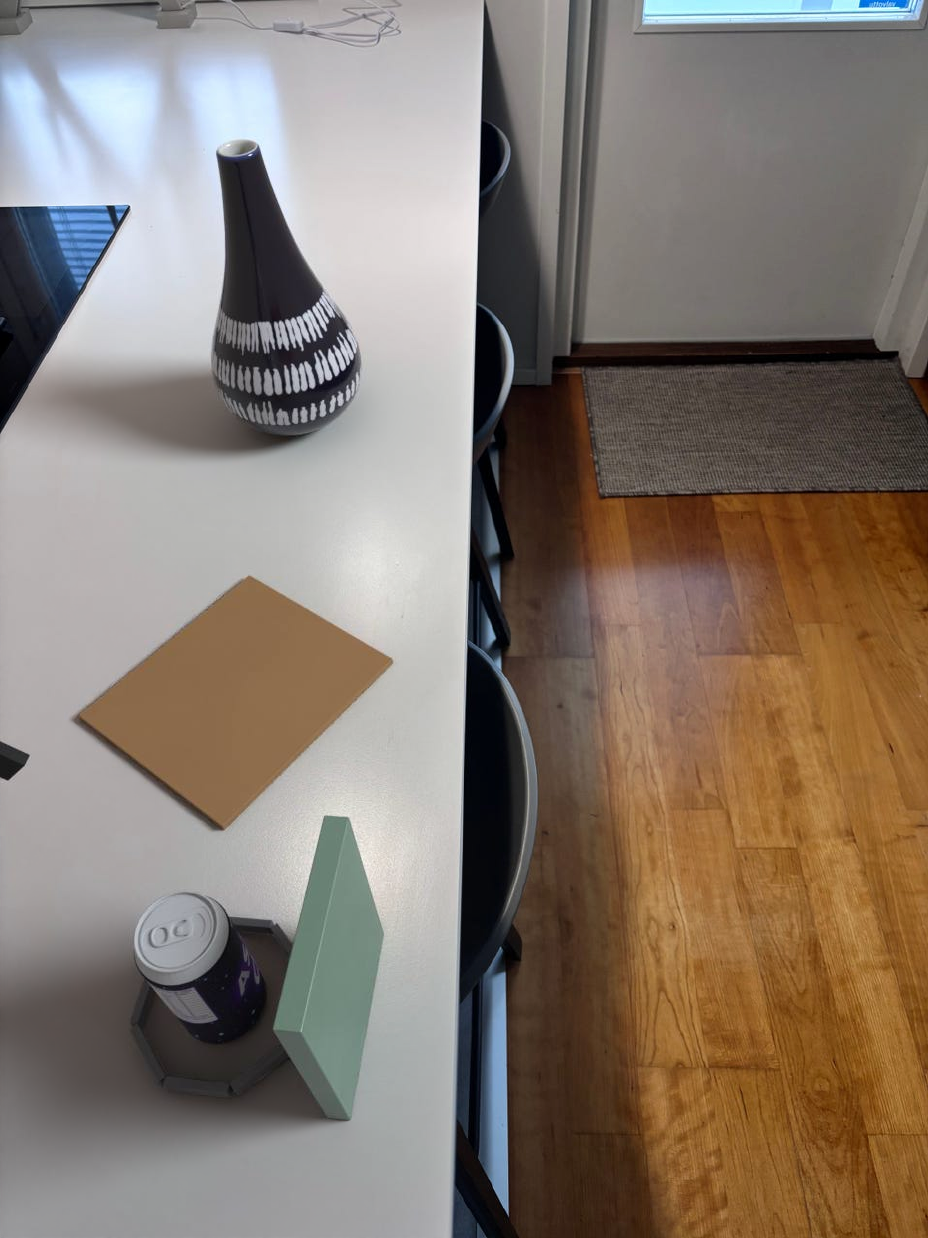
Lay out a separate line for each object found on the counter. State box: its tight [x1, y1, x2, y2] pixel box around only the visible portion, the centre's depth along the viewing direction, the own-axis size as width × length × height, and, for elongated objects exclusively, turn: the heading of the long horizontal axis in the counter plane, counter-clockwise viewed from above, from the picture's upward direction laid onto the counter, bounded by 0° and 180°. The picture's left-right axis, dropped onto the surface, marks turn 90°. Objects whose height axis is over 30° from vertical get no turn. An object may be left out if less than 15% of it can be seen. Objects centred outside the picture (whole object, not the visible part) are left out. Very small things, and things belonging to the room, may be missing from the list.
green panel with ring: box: [128, 815, 385, 1121], centre depth 57 cm, size 15×12×16 cm
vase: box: [210, 139, 363, 437], centre depth 96 cm, size 16×16×30 cm
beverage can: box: [133, 890, 268, 1045], centre depth 59 cm, size 6×6×12 cm
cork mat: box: [78, 574, 394, 831], centre depth 81 cm, size 20×18×1 cm
